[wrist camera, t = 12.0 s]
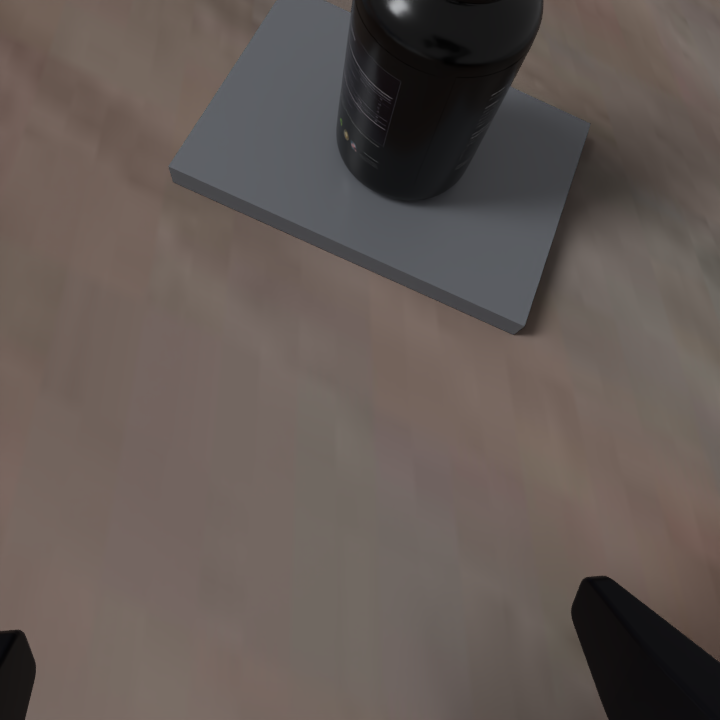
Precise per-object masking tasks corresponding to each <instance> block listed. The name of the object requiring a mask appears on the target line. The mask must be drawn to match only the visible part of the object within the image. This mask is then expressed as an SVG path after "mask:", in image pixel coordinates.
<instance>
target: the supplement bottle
mask: <svg viewBox="0 0 720 720" xmlns="http://www.w3.org/2000/svg"><path fill="white" fill-rule="evenodd" d="M542 15H543V0H353V1H352V8H351V16H350V24H349V31H348V39H347V46H346V54H345V62H344V69H343V77H342V85H341V92H340V100H339V108H338V117H337V126H336V139H337V146H338V149H339V153H340V155H341V158H342V160H343V162H344V164H345V165H346V167H347V168H348V170H349V171H350V172H351V174H352V175H353V176H354V177H355V178H356V179H357V180H358V181H359V182H360V183H362V184H363V185H364V186H366V187H367V188H368V189H370V190H372V191H374V192H376V193H378V194H380V195H382V196H385V197H388V198H392V199H396V200H403V201H419V200H425V199H429V198H432V197H435V196H438V195H440V194H442V193H444V192H445V191H447V190H449V189H450V188H451V187H452V186H454V185H455V184H456V183H457V182H458V181H459V179H460V178H461V177H462V176H463V174H464V173H465V171H466V169H467V167H468V166H469V164H470V162H471V160H472V158H473V157H474V155H475V153H476V151H477V149H478V147H479V145H480V143H481V141H482V140H483V138H484V136H485V134H486V132H487V130H488V128H489V126H490V124H491V122H492V120H493V119H494V117H495V115H496V113H497V111H498V109H499V107H500V105H501V103H502V101H503V99H504V97H505V96H506V94H507V92H508V90H509V88H510V86H511V84H512V82H513V80H514V78H515V76H516V75H517V73H518V71H519V69H520V67H521V65H522V63H523V61H524V59H525V57H526V55H527V53H528V52H529V50H530V48H531V46H532V44H533V41H534V39H535V37H536V35H537V32H538V30H539V27H540V24H541V20H542Z"/></svg>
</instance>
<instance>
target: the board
mask: <svg viewBox="0 0 720 720" xmlns="http://www.w3.org/2000/svg"><path fill="white" fill-rule="evenodd" d="M350 16H351V13H350V12H348V11H346V10H344V9H342V8H339V7H337V6H335V5H333V4H331V3H329V2H326V1H324V0H277V1H276V2H275V4H274V5H273V7H272V8H271V10H270V12H269V13H268V15H267V16H266V18H265V19H264V21H263V22H262V24H261V25H260V27H259V28H258V30H257V31H256V33H255V35H254V36H253V38H252V39H251V41H250V42H249V44H248V45H247V47H246V48H245V50H244V51H243V53H242V54H241V56H240V57H239V59H238V61H237V62H236V64H235V65H234V67H233V68H232V70H231V71H230V73H229V74H228V76H227V77H226V79H225V80H224V82H223V84H222V85H221V87H220V88H219V90H218V91H217V93H216V94H215V96H214V97H213V99H212V100H211V102H210V103H209V105H208V107H207V108H206V110H205V111H204V113H203V114H202V116H201V117H200V119H199V120H198V122H197V123H196V125H195V126H194V128H193V130H192V131H191V133H190V134H189V136H188V137H187V139H186V140H185V142H184V143H183V145H182V146H181V148H180V149H179V151H178V153H177V154H176V156H175V157H174V159H173V160H172V162H171V163H170V165H169V166H168V167H169V170H170V173H171V176H172V180H173V182H174V183H176V184H179V185H181V186H183V187H185V188H187V189H190V190H192V191H194V192H196V193H199V194H201V195H203V196H205V197H208V198H210V199H212V200H214V201H216V202H219V203H221V204H223V205H225V206H228V207H230V208H232V209H234V210H237V211H239V212H241V213H243V214H245V215H248V216H250V217H252V218H254V219H257V220H259V221H261V222H263V223H265V224H268V225H270V226H272V227H274V228H277V229H279V230H281V231H283V232H286V233H288V234H290V235H292V236H294V237H297V238H299V239H301V240H303V241H306V242H308V243H310V244H312V245H315V246H317V247H319V248H321V249H323V250H326V251H328V252H330V253H332V254H335V255H337V256H339V257H341V258H343V259H346V260H348V261H350V262H352V263H355V264H357V265H359V266H361V267H364V268H366V269H368V270H370V271H372V272H375V273H377V274H379V275H381V276H384V277H386V278H388V279H390V280H393V281H395V282H397V283H399V284H401V285H404V286H406V287H408V288H410V289H413V290H415V291H417V292H419V293H421V294H424V295H426V296H428V297H430V298H433V299H435V300H437V301H439V302H442V303H444V304H446V305H448V306H450V307H453V308H455V309H457V310H459V311H462V312H464V313H466V314H468V315H471V316H473V317H475V318H477V319H479V320H482V321H484V322H486V323H488V324H491V325H493V326H495V327H497V328H500V329H502V330H504V331H506V332H508V333H511V334H513V335H514V334H515V333H517V332H518V331H519V330H521V329H522V328H523V327H524V326H525V323H526V320H527V317H528V314H529V311H530V308H531V305H532V302H533V299H534V296H535V293H536V290H537V287H538V284H539V281H540V278H541V274H542V271H543V268H544V265H545V262H546V259H547V256H548V253H549V250H550V247H551V244H552V241H553V238H554V235H555V232H556V229H557V225H558V222H559V219H560V216H561V213H562V210H563V207H564V204H565V201H566V198H567V195H568V192H569V189H570V186H571V183H572V180H573V176H574V173H575V170H576V167H577V164H578V161H579V158H580V155H581V152H582V149H583V146H584V143H585V140H586V137H587V134H588V130H589V127H590V123H588V122H586V121H584V120H582V119H579V118H577V117H575V116H573V115H571V114H569V113H566V112H564V111H562V110H560V109H558V108H556V107H553V106H551V105H549V104H547V103H545V102H543V101H540V100H538V99H536V98H534V97H532V96H530V95H527V94H525V93H523V92H521V91H519V90H517V89H515V88H512V87H510V88H509V90H508V92H507V94H506V96H505V97H504V99H503V101H502V103H501V105H500V107H499V109H498V111H497V113H496V115H495V117H494V119H493V120H492V122H491V124H490V126H489V128H488V130H487V132H486V134H485V136H484V138H483V140H482V141H481V143H480V145H479V147H478V149H477V151H476V153H475V155H474V157H473V158H472V160H471V162H470V164H469V166H468V167H467V169H466V171H465V173H464V174H463V176H462V177H461V178H460V179H459V181H458V182H457V183H456V184H455V185H454V186H452V187H451V188H450V189H449V190H447V191H445V192H444V193H442V194H440V195H438V196H435V197H432V198H429V199H425V200H419V201H403V200H396V199H392V198H388V197H385V196H382V195H380V194H378V193H376V192H374V191H372V190H370V189H368V188H367V187H366V186H364V185H363V184H362V183H360V182H359V181H358V180H357V179H356V178H355V177H354V176H353V175H352V174H351V172H350V171H349V170H348V168H347V167H346V165H345V164H344V162H343V160H342V158H341V155H340V153H339V149H338V146H337V139H336V126H337V117H338V108H339V100H340V92H341V85H342V77H343V69H344V62H345V54H346V46H347V39H348V31H349V24H350Z"/></svg>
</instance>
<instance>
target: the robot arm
mask: <svg viewBox="0 0 720 720" xmlns="http://www.w3.org/2000/svg"><path fill="white" fill-rule="evenodd" d="M571 615H572V620H573V624H574V626H575V629H576V632H577V635H578V638H579V640H580V643H581V646H582V649H583V652H584V654H585V657H586V660H587V663H588V666H589V668H590V671H591V674H592V677H593V680H594V682H595V685H596V688H597V691H598V694H599V696H600V699H601V702H602V704H603V707H604V710H605V712H606V715H607V717H608V719H609V720H720V662H718V661H717V660H716V659H715V658H713V657H712V656H711V655H709V654H708V653H707V652H706V651H704V650H703V649H702V648H700V647H699V646H698V645H697V644H695V643H694V642H693V641H691V640H690V639H689V638H687V637H686V636H685V635H684V634H682V633H681V632H680V631H678V630H677V629H676V628H675V627H673V626H672V625H671V624H669V623H668V622H667V621H666V620H664V619H663V618H662V617H660V616H659V615H658V614H656V613H655V612H654V611H653V610H651V609H650V608H649V607H647V606H646V605H645V604H644V603H642V602H641V601H640V600H638V599H637V598H636V597H635V596H633V595H632V594H631V593H629V592H628V591H627V590H625V589H624V588H623V587H622V586H620V585H619V584H618V583H616V582H615V581H614V580H612V579H611V578H609V577H607V576H593V577H586V578H584V579H583V580H582V581H581V584H580V586H579V589H578V591H577V594H576V596H575V599H574V602H573V604H572V608H571ZM35 674H36V663H35V660H34V657H33V654H32V652H31V649H30V646H29V644H28V641H27V638H26V636H25V634H24V632H22V631H21V630H8V631H0V720H25V717H26V713H27V709H28V705H29V701H30V696H31V692H32V688H33V684H34V680H35Z"/></svg>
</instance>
